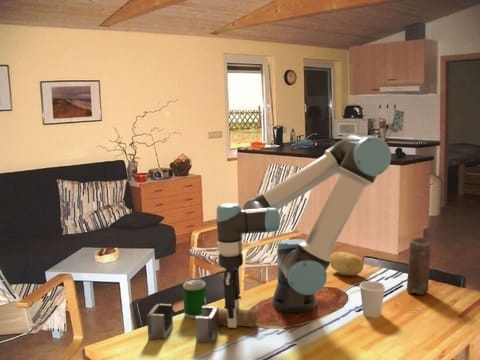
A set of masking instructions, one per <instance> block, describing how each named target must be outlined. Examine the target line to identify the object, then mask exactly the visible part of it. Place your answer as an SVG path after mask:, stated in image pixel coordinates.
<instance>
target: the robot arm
mask: <svg viewBox="0 0 480 360" xmlns="http://www.w3.org/2000/svg"><path fill="white" fill-rule="evenodd" d="M391 162H392V151H391V148H390V146H389V145H388V143H387V142H386V141H385V140H384V139H381V138H380V137H378V136H375V135H372V134H370V135H369V134H363V133H352V134H350V135H348V136H346V137H345V138H343V139H341V140H340V141H338V142H336V143H335V144H333V145H331V146H330V147H329V148H328V149H326V150H324V154H323V155H322V156H320V157H318V158H317V159H315V160H314V161H312V162H311V163H309V164H308V165H306V166H305V167H303V168H301V169H300V170H298V171H296V172H295V173H293V174H292V175H290V176H289V177H287V178H286V179H284V180H282V181H280V182H279V183H278V184H276V185H274V186H273V187H271V188H269V189H267V191H265V192H263V193H262V194H260V195H258V196H256V197H252V198H249V199H247V200H246V201H244V203H243V205H242V208H241V205H240V204H239V203H235V202H225V203H221V204H219V205H218V206H217V207H216V234H217V235H216V236H217V242H216V246H217V247H218V253H219V254H218V265H219V267H220V268H224V269H225V271H224V272H223V277H224V278H223V289H224V290H223V291H224V293H223V294H224V307H223V309H227V320H228V325H227V328H234V329H235V328H237V322H236V309H240V300H241V299H242V295H240V294H241V290H240V267H241V266H242V265H243V264H244V257H243V238H242V235H244V234H245V235H246V234H259V233H272V232H278V231H279V229H280V226H281V219H280V217H281V215H280V212H279V210H280V209H282V208H284V207H285V206H287V205H289V204H290V203H292V202H294V201H296V200H297V199H298V198H300V197H301V196H303V195H304V194H306V193H308V192H310V191H312V189H314V188H316V187H317V186H319V185H321V184H322V183H324V182H326V181H327V180H329V179H330V178H332V177H333V176H335V175H339V177H338V179H337V180H336V182H335V184H334V186H333V188H332V190H331V192H330V194H329V196H328V198H326V199H327V200H326V201H325V203H324V205H323V207H322V209H321V211H320V212H319V214H318V216H317V218H316V220H315V222H314V223H313V226H312V228H311V230H310V231H309V232H308V235H307V237H306V239H296V238H295V239H293V238H292V239H285V240H280V241H279V242H277V247H276V252H277V258H276V259H277V284H276V288H275V291H274V293H273V297H272V305H273V304H274V305H273V307H274V306H275V307H277V308H278V309H277V308H276V309H277V310H279V309H280V310H279V311H281V310H282V311H281V312H287V313H292V314H293V313H295V314H297V313H299V314H300V313H306V312H309V311H312V310H314V309H315V308H316V307H317V296H316V293H319V292H320V291H322V289H323V288H324V287H325V285H326V284H327V278H328V275H327V274H328V273H327V270H328V267H329V266H330V265H331V263H330V262H331V258H330V257H331V251H332V250H333V248H334V246H335V244H336V243H337V241H338V238H339V237H340V235H341V233H342V231H343V229H344V227H345V226H346V224H347V222H348V220H349V219H350V216H351V214H352V213H353V211H354V208H355V207H356V205H357V203H358V201H359V199H360V198H361V195H362V194H363V192H364V190H365V189H366V187H369V186H373V184H374V182H375V181H376V179H377V178H378V177H377V176H380V175H381V174H383V173H385V171H387V169H389V167H390V164H391ZM315 306H316V307H315ZM275 307H274V308H275ZM314 307H315V308H314ZM313 308H314V309H313Z"/></svg>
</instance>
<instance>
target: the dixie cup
mask: <svg viewBox="0 0 480 360" xmlns="http://www.w3.org/2000/svg"><path fill="white" fill-rule="evenodd" d="M359 288H360V289H359V290H360V297H361V307H362V315H363V316H364V317H367V318H371V319H375V318H380V317H381V315H382V308H383V301H384V295H385V289H386V288H387V287H386V285H385V284H384V283H382V282H379V281H374V280H373V281H372V280H369V281H367V280H365V281H362V282H361V283H359Z"/></svg>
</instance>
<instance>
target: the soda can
mask: <svg viewBox="0 0 480 360" xmlns="http://www.w3.org/2000/svg"><path fill="white" fill-rule="evenodd" d="M206 286H207V284H206V282H205V281H204V280H203V279H201V278H189V279H186V280H185V281H184V283H183V284H182V293H183V314H184V315H185V316H186V317H187V318H188V319H190V318H191V319H190V320H195V317H196V316H202V306H207V287H206Z"/></svg>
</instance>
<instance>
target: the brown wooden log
mask: <svg viewBox="0 0 480 360" xmlns="http://www.w3.org/2000/svg"><path fill="white" fill-rule="evenodd" d="M218 315H219V326H220V325H221V326H228V320H227V309H225V308H219V307H218ZM236 322H237V326H239V327H240V326H243V327H257V325H258V310H257V309H240V308H239V309H236Z"/></svg>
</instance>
